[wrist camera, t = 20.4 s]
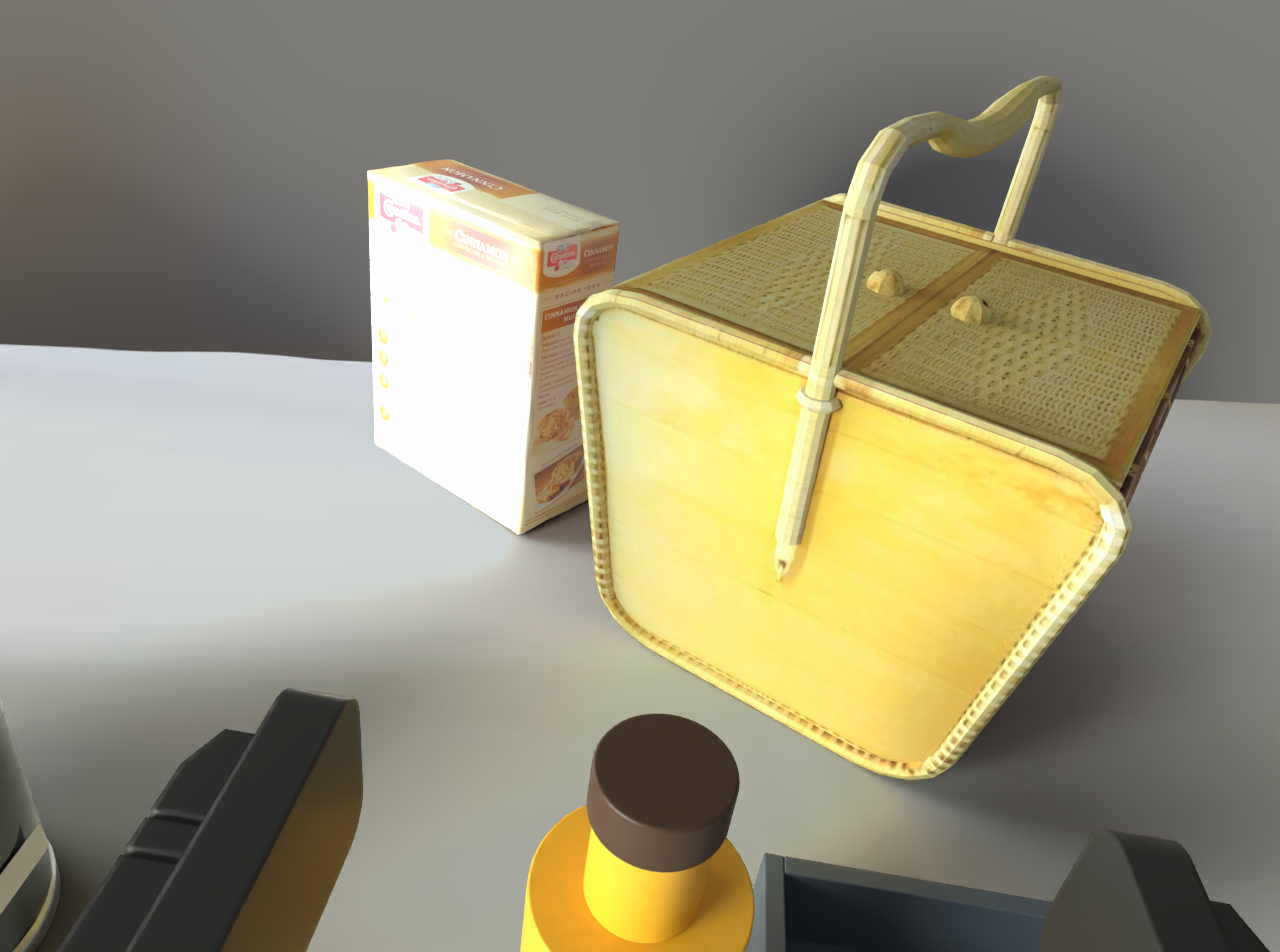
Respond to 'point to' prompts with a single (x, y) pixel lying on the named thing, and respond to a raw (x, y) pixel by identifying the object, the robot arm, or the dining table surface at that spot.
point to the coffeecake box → (482, 334)
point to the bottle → (645, 850)
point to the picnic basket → (874, 450)
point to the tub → (883, 913)
